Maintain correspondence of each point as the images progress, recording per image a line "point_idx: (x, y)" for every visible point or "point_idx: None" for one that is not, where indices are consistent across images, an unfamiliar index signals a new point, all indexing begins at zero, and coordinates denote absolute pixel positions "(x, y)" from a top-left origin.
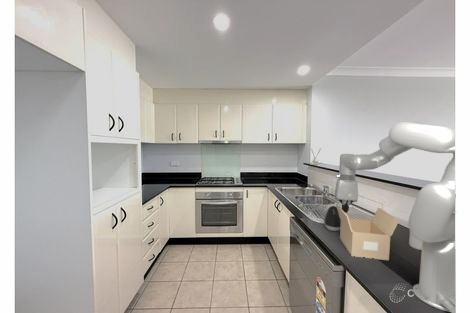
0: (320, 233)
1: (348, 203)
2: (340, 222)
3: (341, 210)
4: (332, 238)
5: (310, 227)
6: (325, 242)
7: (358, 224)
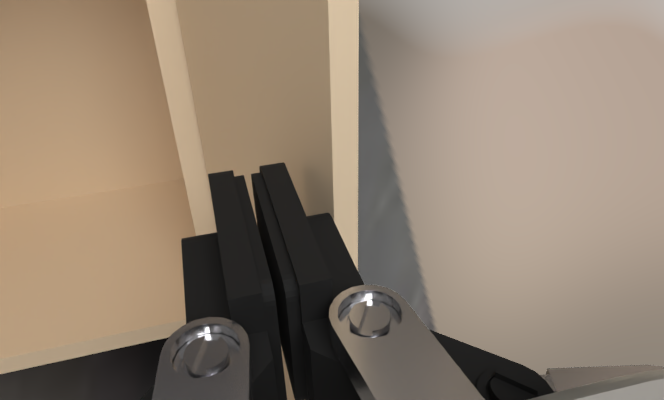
0: (365, 206)
1: (218, 376)
2: None
3: (356, 185)
4: None
5: (420, 281)
6: (359, 35)
7: (7, 312)
